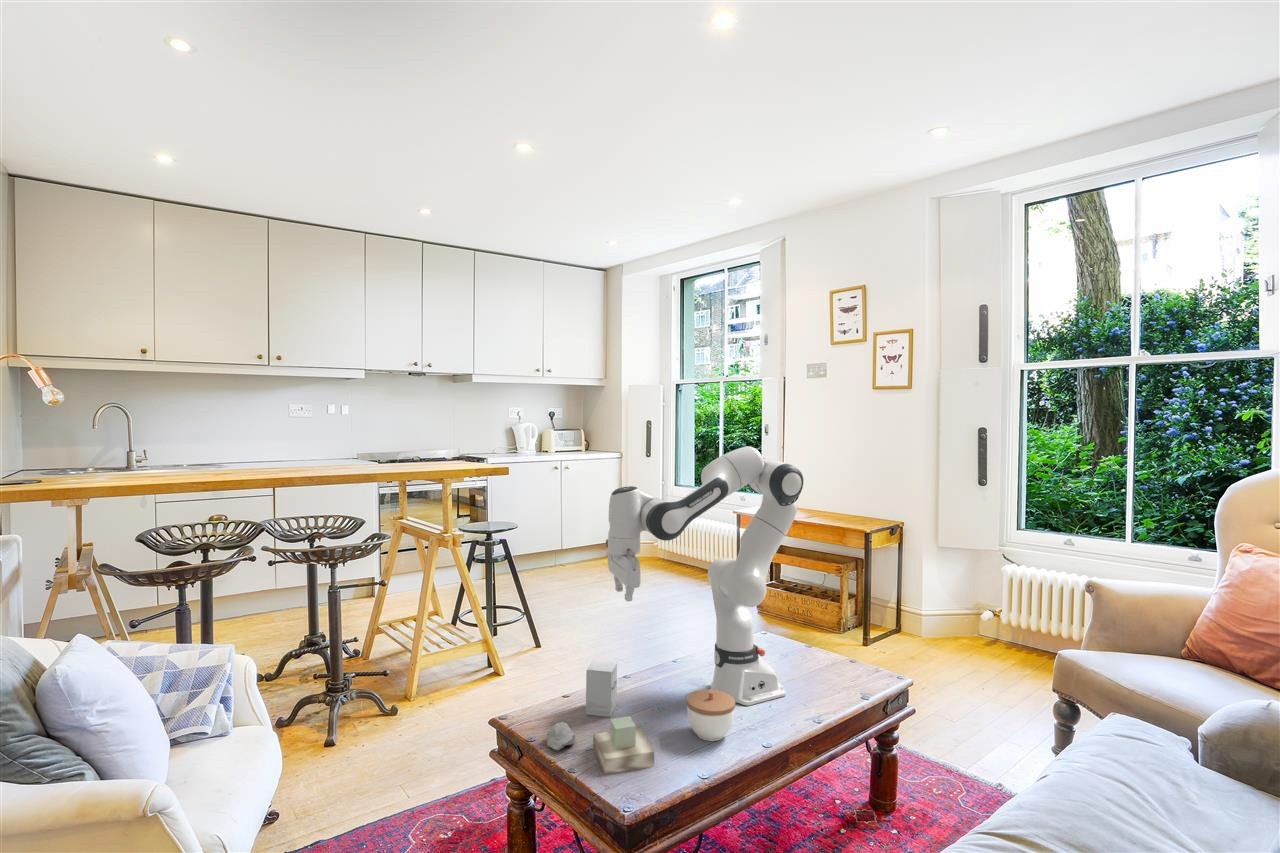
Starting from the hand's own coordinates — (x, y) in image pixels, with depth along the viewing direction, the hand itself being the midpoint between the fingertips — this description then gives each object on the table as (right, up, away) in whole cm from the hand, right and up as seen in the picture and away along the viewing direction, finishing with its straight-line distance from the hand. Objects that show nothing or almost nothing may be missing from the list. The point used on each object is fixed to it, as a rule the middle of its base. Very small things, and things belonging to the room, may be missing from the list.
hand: (623, 595), depth 177 cm
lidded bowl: (+23, -34, -10) cm, 42 cm away
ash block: (0, -34, -21) cm, 40 cm away
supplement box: (-6, -33, +3) cm, 34 cm away
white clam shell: (-16, -34, -15) cm, 40 cm away
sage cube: (0, -30, -21) cm, 37 cm away
